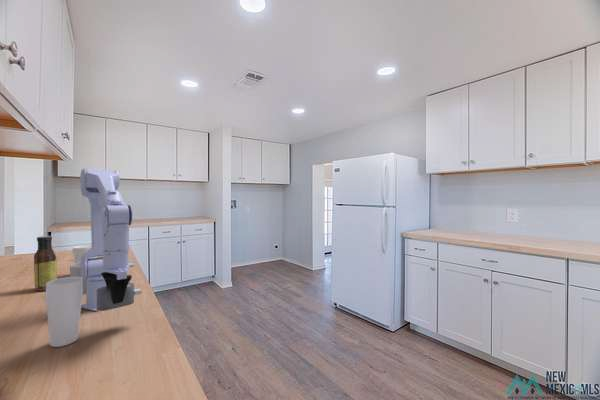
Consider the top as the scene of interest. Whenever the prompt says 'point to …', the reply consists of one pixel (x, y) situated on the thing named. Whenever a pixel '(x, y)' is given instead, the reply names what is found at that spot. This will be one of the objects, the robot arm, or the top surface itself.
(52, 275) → the sauce bottle
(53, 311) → the drinking glass
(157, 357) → the top surface
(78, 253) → the foam cup
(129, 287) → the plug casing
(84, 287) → the mug
